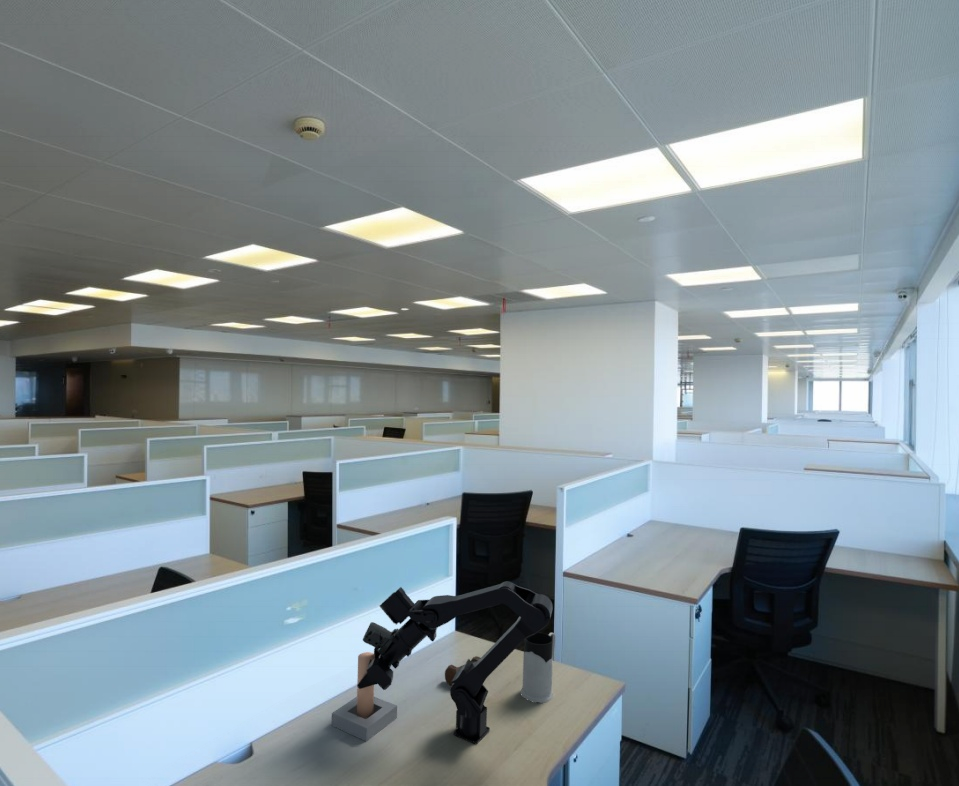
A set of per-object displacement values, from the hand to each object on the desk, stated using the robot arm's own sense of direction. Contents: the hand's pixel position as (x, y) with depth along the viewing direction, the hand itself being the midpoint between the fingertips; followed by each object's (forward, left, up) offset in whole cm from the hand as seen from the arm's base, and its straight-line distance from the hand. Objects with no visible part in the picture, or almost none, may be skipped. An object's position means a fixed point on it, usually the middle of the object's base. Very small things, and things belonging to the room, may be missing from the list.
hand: (360, 682), depth 135 cm
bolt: (-11, -33, -10) cm, 36 cm away
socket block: (-1, -1, -9) cm, 10 cm away
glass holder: (-31, -38, -10) cm, 50 cm away
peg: (-1, -1, -8) cm, 8 cm away
